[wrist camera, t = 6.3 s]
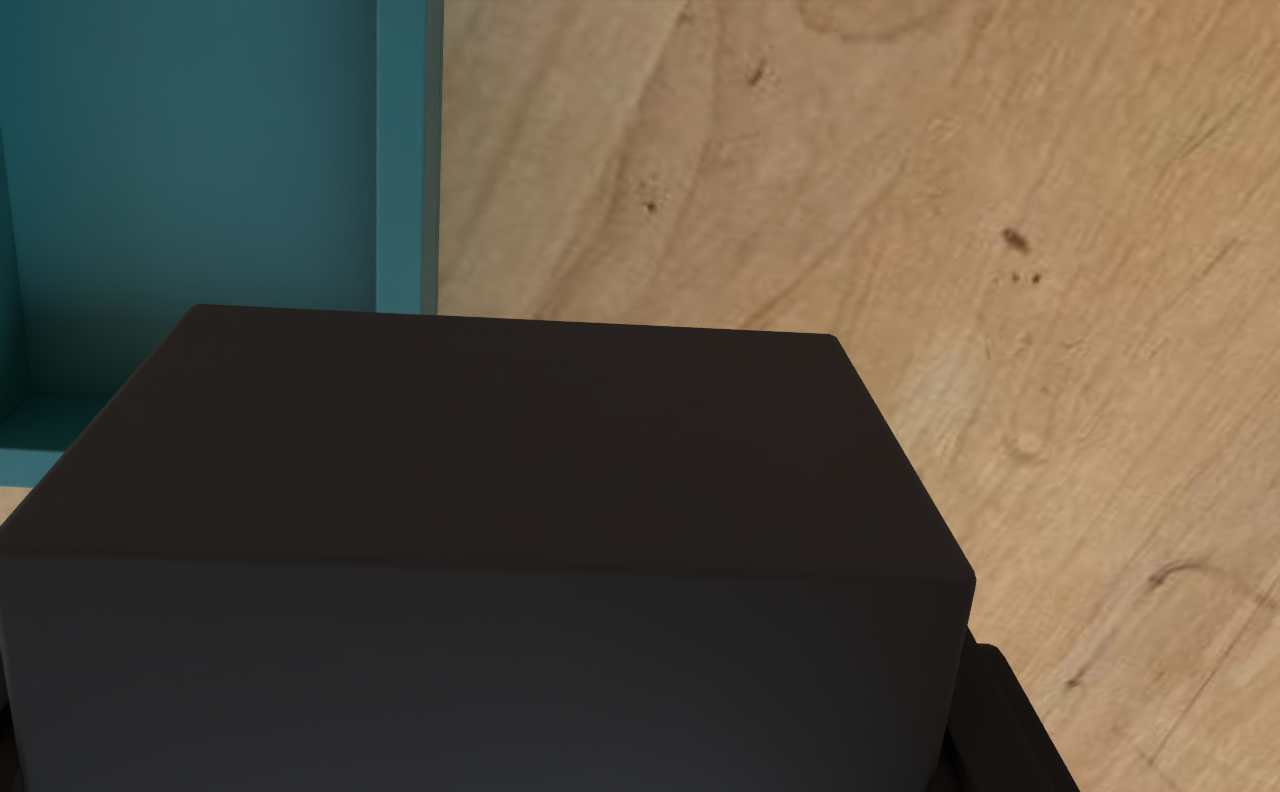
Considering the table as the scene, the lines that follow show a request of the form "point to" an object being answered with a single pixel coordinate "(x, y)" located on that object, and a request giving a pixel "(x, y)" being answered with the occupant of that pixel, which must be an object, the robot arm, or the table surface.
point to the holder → (200, 182)
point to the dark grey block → (481, 567)
